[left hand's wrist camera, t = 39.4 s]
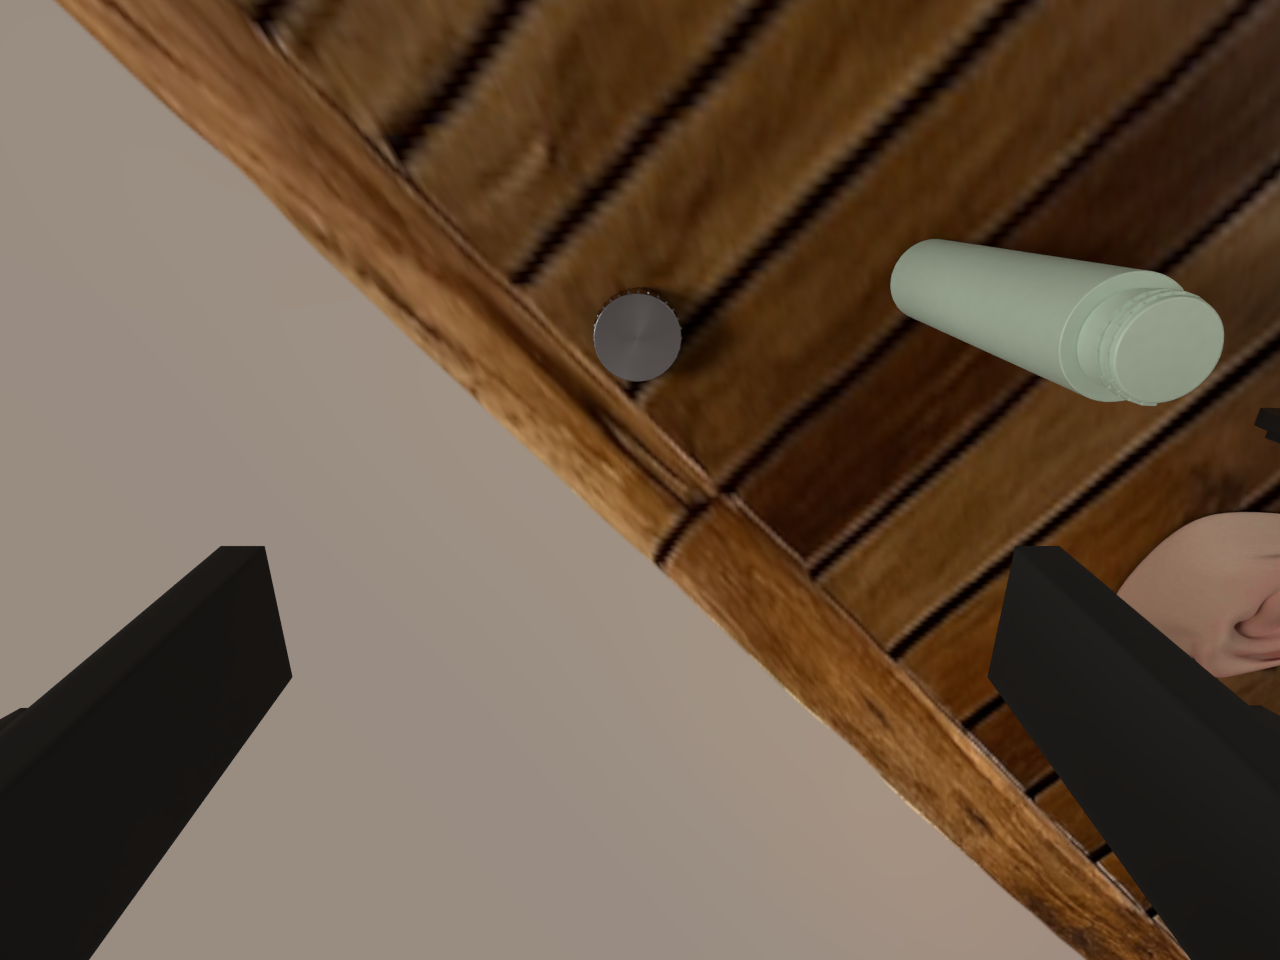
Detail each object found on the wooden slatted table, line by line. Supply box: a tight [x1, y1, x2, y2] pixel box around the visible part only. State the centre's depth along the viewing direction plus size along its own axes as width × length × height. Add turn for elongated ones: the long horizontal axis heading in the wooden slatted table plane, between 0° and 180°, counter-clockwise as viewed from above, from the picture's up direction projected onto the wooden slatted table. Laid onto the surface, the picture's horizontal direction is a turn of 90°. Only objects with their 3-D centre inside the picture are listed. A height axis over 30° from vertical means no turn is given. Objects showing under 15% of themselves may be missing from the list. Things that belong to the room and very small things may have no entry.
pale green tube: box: [891, 239, 1224, 406], centre depth 31 cm, size 4×4×20 cm
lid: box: [593, 287, 682, 381], centre depth 40 cm, size 5×5×2 cm
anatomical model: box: [1117, 512, 1280, 677], centre depth 45 cm, size 13×4×12 cm
